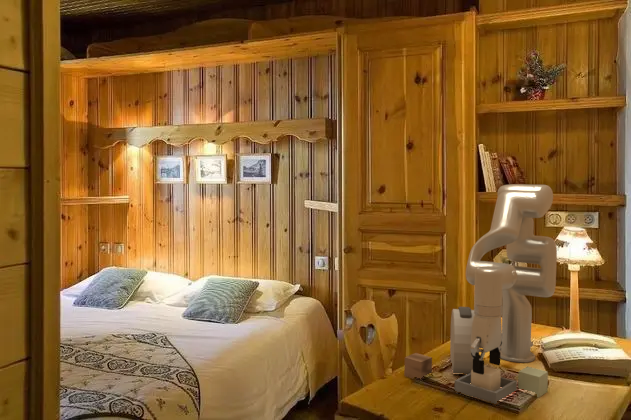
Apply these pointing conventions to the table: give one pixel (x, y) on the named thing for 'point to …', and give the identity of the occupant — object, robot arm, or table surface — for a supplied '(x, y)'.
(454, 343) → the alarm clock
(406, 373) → the walnut block
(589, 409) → the table surface
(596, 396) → the table surface
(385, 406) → the table surface
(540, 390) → the sage block
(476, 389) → the grey tray
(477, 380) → the cream block
